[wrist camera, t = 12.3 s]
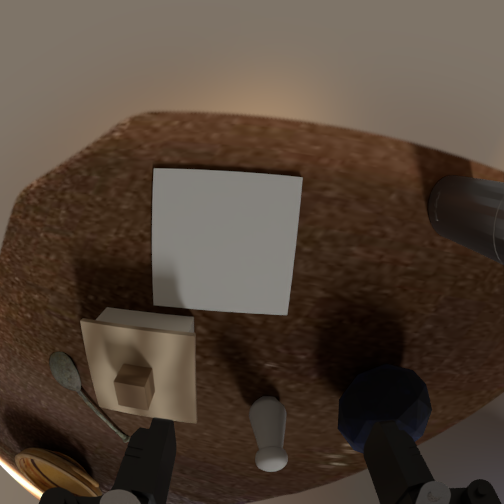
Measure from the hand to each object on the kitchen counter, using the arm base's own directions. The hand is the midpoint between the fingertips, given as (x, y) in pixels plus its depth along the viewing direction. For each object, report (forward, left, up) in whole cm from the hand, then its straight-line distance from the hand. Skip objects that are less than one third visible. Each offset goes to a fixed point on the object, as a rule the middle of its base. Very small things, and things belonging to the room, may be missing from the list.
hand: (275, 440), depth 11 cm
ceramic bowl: (+42, +59, -30) cm, 79 cm away
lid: (+14, +17, -24) cm, 33 cm away
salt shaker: (-4, +26, -30) cm, 40 cm away
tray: (+4, 0, -30) cm, 30 cm away
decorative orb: (-21, +22, -30) cm, 43 cm away
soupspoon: (+27, +30, -31) cm, 51 cm away
